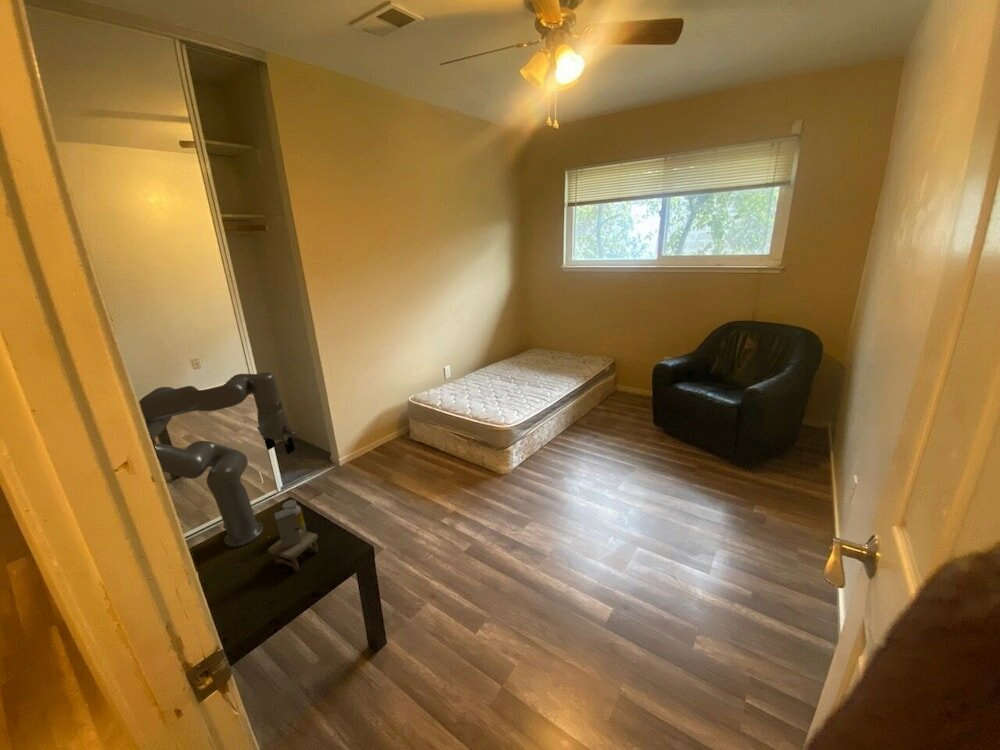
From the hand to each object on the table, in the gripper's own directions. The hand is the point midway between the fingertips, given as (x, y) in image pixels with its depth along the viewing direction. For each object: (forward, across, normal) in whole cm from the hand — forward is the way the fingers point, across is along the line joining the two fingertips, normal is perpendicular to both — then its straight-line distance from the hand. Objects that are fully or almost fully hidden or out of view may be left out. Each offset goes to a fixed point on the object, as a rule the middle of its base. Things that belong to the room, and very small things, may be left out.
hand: (281, 450), depth 147 cm
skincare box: (+26, +13, -14) cm, 32 cm away
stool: (+33, +13, -14) cm, 38 cm away
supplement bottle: (+34, +2, -4) cm, 34 cm away
